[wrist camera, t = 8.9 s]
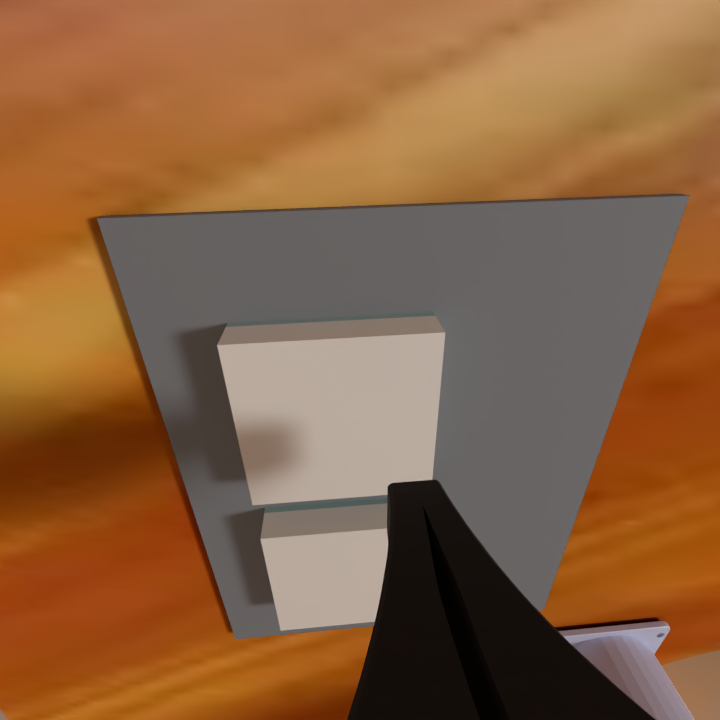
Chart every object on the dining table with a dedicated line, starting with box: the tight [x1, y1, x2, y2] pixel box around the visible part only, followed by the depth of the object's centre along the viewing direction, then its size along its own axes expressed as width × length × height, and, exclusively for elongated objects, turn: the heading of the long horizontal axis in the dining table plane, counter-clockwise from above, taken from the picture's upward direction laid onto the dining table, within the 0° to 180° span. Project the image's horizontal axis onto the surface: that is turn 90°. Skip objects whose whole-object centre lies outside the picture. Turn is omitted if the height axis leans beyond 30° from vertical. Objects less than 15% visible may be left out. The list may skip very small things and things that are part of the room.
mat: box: [97, 194, 689, 639], centre depth 18 cm, size 23×18×1 cm
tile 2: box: [217, 312, 445, 505], centre depth 15 cm, size 7×2×7 cm
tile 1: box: [260, 498, 388, 631], centre depth 20 cm, size 7×2×7 cm
